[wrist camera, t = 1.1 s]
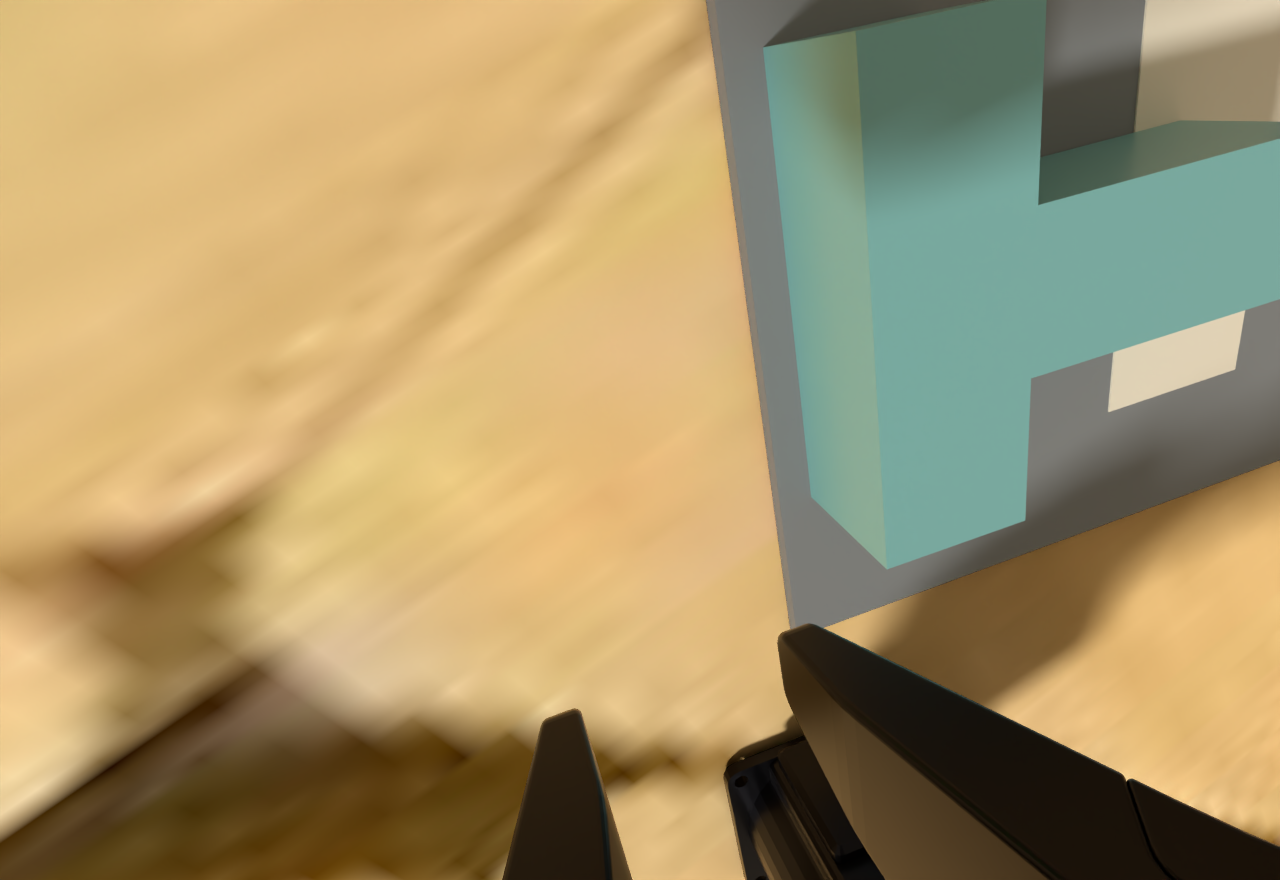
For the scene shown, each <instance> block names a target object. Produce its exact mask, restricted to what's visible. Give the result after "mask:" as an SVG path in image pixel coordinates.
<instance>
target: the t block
mask: <svg viewBox="0 0 1280 880" xmlns="http://www.w3.org/2000/svg"><path fill="white" fill-rule="evenodd" d="M1046 2H1047V0H985V1H980V2H975V3H970V4H964V5H959V6H954V7H949V8H943V9H938V10H933V11H928V12H922V13H917V14H913V15H908V16H904V17H899V18H895V19H890V20H886V21H881V22H876V23H872V24H867V25H863V26H858V27H854V28H849V29H845V30H840V31H836V32H831V33H827V34H822V35H817V36H813V37H808V38H804V39H799V40H795V41H790V42H786V43H781V44H777V45H772V46H767V47H763V53H764V62H765V71H766V81H767V90H768V99H769V109H770V118H771V127H772V137H773V146H774V155H775V165H776V174H777V183H778V193H779V202H780V211H781V221H782V230H783V239H784V249H785V258H786V267H787V276H788V286H789V295H790V304H791V314H792V323H793V332H794V342H795V351H796V360H797V370H798V379H799V388H800V398H801V407H802V416H803V426H804V435H805V444H806V454H807V463H808V472H809V481H810V491H811V497H812V498H813V499H814V500H815V501H816V502H817V503H818V504H819V505H820V506H821V507H822V508H823V509H824V510H825V511H826V512H827V513H828V514H829V515H830V516H832V517H833V518H834V519H835V520H836V521H837V522H838V523H839V524H840V525H841V526H842V527H843V528H844V529H845V530H846V531H847V532H848V533H849V534H850V535H851V536H852V537H853V538H854V539H856V540H857V541H858V542H859V543H860V544H861V545H862V546H863V547H864V548H865V549H866V550H867V551H868V552H869V553H870V554H871V555H872V556H873V557H874V558H875V559H876V560H877V561H879V562H880V563H881V564H882V565H883V566H884V567H885V568H886V569H890V568H893V567H896V566H898V565H901V564H904V563H907V562H910V561H912V560H915V559H918V558H921V557H924V556H927V555H929V554H932V553H935V552H938V551H941V550H943V549H946V548H949V547H952V546H955V545H958V544H960V543H963V542H966V541H969V540H972V539H974V538H977V537H980V536H983V535H986V534H989V533H991V532H994V531H997V530H1000V529H1003V528H1006V527H1008V526H1011V525H1014V524H1017V523H1020V522H1022V521H1025V515H1026V490H1027V466H1028V441H1029V417H1030V392H1031V378H1034V377H1037V376H1041V375H1044V374H1047V373H1050V372H1053V371H1056V370H1059V369H1062V368H1066V367H1069V366H1072V365H1075V364H1078V363H1081V362H1084V361H1088V360H1091V359H1094V358H1097V357H1100V356H1103V355H1106V354H1109V353H1113V352H1116V351H1119V350H1122V349H1125V348H1128V347H1131V346H1135V345H1138V344H1141V343H1144V342H1147V341H1150V340H1153V339H1156V338H1160V337H1163V336H1166V335H1169V334H1172V333H1175V332H1178V331H1182V330H1185V329H1188V328H1191V327H1194V326H1197V325H1200V324H1203V323H1207V322H1210V321H1213V320H1216V319H1219V318H1222V317H1225V316H1229V315H1232V314H1235V313H1238V312H1241V311H1244V310H1247V309H1250V308H1254V307H1257V306H1260V305H1263V304H1266V303H1269V302H1272V301H1276V300H1279V299H1280V122H1272V121H1194V120H1180V121H1176V122H1172V123H1169V124H1165V125H1161V126H1157V127H1153V128H1150V129H1146V130H1142V131H1138V132H1134V133H1131V134H1127V135H1123V136H1119V137H1115V138H1112V139H1108V140H1104V141H1100V142H1096V143H1093V144H1089V145H1085V146H1081V147H1077V148H1074V149H1070V150H1066V151H1062V152H1059V153H1055V154H1051V155H1047V156H1043V157H1040V148H1041V124H1042V99H1043V75H1044V51H1045V26H1046Z"/></svg>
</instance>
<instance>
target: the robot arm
mask: <svg viewBox="0 0 1280 880" xmlns="http://www.w3.org/2000/svg"><path fill="white" fill-rule="evenodd" d="M777 644H778V652H779V659H780V665H781V672H782V679H783V686H784V691H785V694H786V697H787V700H788V703H789V705H790V707H791V709H792V711H793V713H794V715H795V717H796V719H797V721H798V723H799V725H800V727H801V729H802V731H803V733H804V735H805V736H802V737H800V738H797V739H794V740H792V741H789V742H787V743H784V744H782V745H779V746H777V747H774V748H772V749H769V750H766V751H764V752H761V753H759V754H756V755H754V756H751V757H749V758H746V759H744V760H741V761H738V762H736V763H734V764H732V765H730V766H729V767H728V768H727V769H726V770H725V772H724V782H725V787H726V792H727V797H728V802H729V807H730V811H731V816H732V821H733V826H734V831H735V835H736V840H737V845H738V850H739V855H740V859H741V864H742V869H743V874H744V877H745V880H1280V846H1278V845H1275V844H1273V843H1270V842H1268V841H1266V840H1263V839H1261V838H1259V837H1256V836H1254V835H1251V834H1249V833H1247V832H1245V831H1242V830H1240V829H1238V828H1236V827H1234V826H1232V825H1229V824H1227V823H1225V822H1223V821H1221V820H1219V819H1217V818H1214V817H1212V816H1210V815H1208V814H1206V813H1204V812H1201V811H1199V810H1197V809H1195V808H1193V807H1191V806H1188V805H1186V804H1184V803H1182V802H1180V801H1178V800H1176V799H1174V798H1171V797H1169V796H1167V795H1165V794H1163V793H1161V792H1159V791H1157V790H1155V789H1153V788H1151V787H1149V786H1147V785H1145V784H1143V783H1141V782H1139V781H1137V780H1134V779H1129V780H1127V782H1126V779H1125V777H1124V776H1123V774H1121V773H1119V772H1117V771H1115V770H1113V769H1111V768H1109V767H1107V766H1105V765H1103V764H1101V763H1099V762H1097V761H1095V760H1093V759H1091V758H1089V757H1087V756H1085V755H1083V754H1081V753H1078V752H1076V751H1074V750H1072V749H1070V748H1068V747H1066V746H1064V745H1062V744H1060V743H1058V742H1056V741H1054V740H1052V739H1050V738H1048V737H1046V736H1044V735H1042V734H1039V733H1037V732H1035V731H1033V730H1031V729H1029V728H1027V727H1025V726H1023V725H1021V724H1019V723H1017V722H1015V721H1013V720H1011V719H1009V718H1007V717H1005V716H1003V715H1001V714H998V713H996V712H994V711H992V710H990V709H988V708H986V707H984V706H982V705H980V704H978V703H976V702H974V701H972V700H970V699H968V698H966V697H964V696H962V695H959V694H957V693H955V692H953V691H951V690H949V689H947V688H945V687H943V686H941V685H939V684H937V683H935V682H933V681H931V680H929V679H927V678H925V677H923V676H921V675H918V674H916V673H914V672H912V671H910V670H908V669H906V668H904V667H902V666H900V665H898V664H896V663H894V662H892V661H890V660H888V659H886V658H884V657H882V656H879V655H877V654H875V653H873V652H871V651H869V650H867V649H865V648H863V647H861V646H859V645H857V644H855V643H853V642H851V641H849V640H847V639H845V638H843V637H841V636H838V635H836V634H834V633H832V632H830V631H828V630H826V629H824V628H822V627H820V626H818V625H815V624H811V623H807V624H804V625H801V626H798V627H795V628H793V629H790V630H787V631H784V632H782V633H781V634H780V635H779V637H778V643H777ZM502 880H632V877H631V874H630V871H629V867H628V864H627V861H626V857H625V854H624V851H623V847H622V844H621V841H620V837H619V834H618V831H617V828H616V824H615V821H614V818H613V814H612V811H611V808H610V804H609V801H608V798H607V794H606V791H605V788H604V784H603V781H602V778H601V774H600V771H599V768H598V765H597V761H596V758H595V755H594V752H593V749H592V745H591V742H590V739H589V736H588V733H587V729H586V726H585V723H584V720H583V717H582V714H581V712H580V711H579V710H578V709H571V710H568V711H565V712H563V713H560V714H557V715H554V716H552V717H549V718H547V719H545V720H544V721H543V723H542V725H541V728H540V731H539V735H538V739H537V743H536V747H535V751H534V755H533V759H532V763H531V767H530V771H529V775H528V779H527V783H526V787H525V791H524V795H523V799H522V803H521V807H520V811H519V815H518V819H517V823H516V827H515V831H514V835H513V839H512V843H511V847H510V851H509V855H508V859H507V863H506V867H505V871H504V875H503V879H502Z"/></svg>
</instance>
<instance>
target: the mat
mask: <svg viewBox="0 0 1280 880" xmlns="http://www.w3.org/2000/svg"><path fill="white" fill-rule="evenodd" d="M980 1H985V0H706V3H707V11H708V18H709V26H710V33H711V41H712V48H713V55H714V63H715V70H716V78H717V85H718V93H719V100H720V108H721V115H722V123H723V130H724V138H725V145H726V153H727V160H728V168H729V175H730V182H731V190H732V197H733V205H734V212H735V220H736V227H737V235H738V242H739V250H740V257H741V265H742V272H743V280H744V287H745V295H746V302H747V309H748V317H749V324H750V332H751V339H752V347H753V354H754V362H755V369H756V377H757V384H758V392H759V399H760V407H761V414H762V421H763V429H764V436H765V444H766V451H767V459H768V466H769V474H770V481H771V489H772V496H773V504H774V511H775V519H776V526H777V534H778V541H779V548H780V556H781V563H782V571H783V578H784V586H785V593H786V601H787V608H788V616H789V623H790V629H793V628H795V627H798V626H801V625H804V624H807V623H811V624H815V625H818V626H820V627H822V628H824V627H827V626H830V625H832V624H835V623H838V622H841V621H843V620H846V619H849V618H851V617H854V616H857V615H860V614H862V613H865V612H868V611H871V610H873V609H876V608H879V607H881V606H884V605H887V604H890V603H892V602H895V601H898V600H900V599H903V598H906V597H909V596H911V595H914V594H917V593H920V592H922V591H925V590H928V589H930V588H933V587H936V586H939V585H941V584H944V583H947V582H949V581H952V580H955V579H958V578H960V577H963V576H966V575H969V574H971V573H974V572H977V571H979V570H982V569H985V568H988V567H990V566H993V565H996V564H998V563H1001V562H1004V561H1007V560H1009V559H1012V558H1015V557H1018V556H1020V555H1023V554H1026V553H1028V552H1031V551H1034V550H1037V549H1039V548H1042V547H1045V546H1047V545H1050V544H1053V543H1056V542H1058V541H1061V540H1064V539H1067V538H1069V537H1072V536H1075V535H1077V534H1080V533H1083V532H1086V531H1088V530H1091V529H1094V528H1096V527H1099V526H1102V525H1105V524H1107V523H1110V522H1113V521H1116V520H1118V519H1121V518H1124V517H1126V516H1129V515H1132V514H1135V513H1137V512H1140V511H1143V510H1145V509H1148V508H1151V507H1154V506H1156V505H1159V504H1162V503H1165V502H1167V501H1170V500H1173V499H1175V498H1178V497H1181V496H1184V495H1186V494H1189V493H1192V492H1194V491H1197V490H1200V489H1203V488H1205V487H1208V486H1211V485H1213V484H1216V483H1219V482H1222V481H1224V480H1227V479H1230V478H1233V477H1235V476H1238V475H1241V474H1243V473H1246V472H1249V471H1252V470H1254V469H1257V468H1260V467H1262V466H1265V465H1268V464H1271V463H1273V462H1276V461H1279V460H1280V299H1279V300H1276V301H1272V302H1269V303H1266V304H1263V305H1260V306H1257V307H1254V308H1250V309H1247V310H1244V311H1241V312H1238V313H1235V314H1232V315H1229V316H1225V317H1222V318H1219V319H1216V320H1213V321H1210V322H1207V323H1203V324H1200V325H1197V326H1194V327H1191V328H1188V329H1185V330H1182V331H1178V332H1175V333H1172V334H1169V335H1166V336H1163V337H1160V338H1156V339H1153V340H1150V341H1147V342H1144V343H1141V344H1138V345H1135V346H1131V347H1128V348H1125V349H1122V350H1119V351H1116V352H1113V353H1109V354H1106V355H1103V356H1100V357H1097V358H1094V359H1091V360H1088V361H1084V362H1081V363H1078V364H1075V365H1072V366H1069V367H1066V368H1062V369H1059V370H1056V371H1053V372H1050V373H1047V374H1044V375H1041V376H1037V377H1034V378H1031V392H1030V417H1029V441H1028V466H1027V490H1026V515H1025V521H1022V522H1020V523H1017V524H1014V525H1011V526H1008V527H1006V528H1003V529H1000V530H997V531H994V532H991V533H989V534H986V535H983V536H980V537H977V538H974V539H972V540H969V541H966V542H963V543H960V544H958V545H955V546H952V547H949V548H946V549H943V550H941V551H938V552H935V553H932V554H929V555H927V556H924V557H921V558H918V559H915V560H912V561H910V562H907V563H904V564H901V565H898V566H896V567H893V568H890V569H886V568H885V567H884V566H883V565H882V564H881V563H880V562H879V561H877V560H876V559H875V558H874V557H873V556H872V555H871V554H870V553H869V552H868V551H867V550H866V549H865V548H864V547H863V546H862V545H861V544H860V543H859V542H858V541H857V540H856V539H854V538H853V537H852V536H851V535H850V534H849V533H848V532H847V531H846V530H845V529H844V528H843V527H842V526H841V525H840V524H839V523H838V522H837V521H836V520H835V519H834V518H833V517H832V516H830V515H829V514H828V513H827V512H826V511H825V510H824V509H823V508H822V507H821V506H820V505H819V504H818V503H817V502H816V501H815V500H814V499H813V498H812V497H811V491H810V481H809V472H808V463H807V454H806V444H805V435H804V426H803V416H802V407H801V398H800V388H799V379H798V370H797V360H796V351H795V342H794V332H793V323H792V314H791V304H790V295H789V286H788V276H787V267H786V258H785V249H784V239H783V230H782V221H781V211H780V202H779V193H778V183H777V174H776V165H775V155H774V146H773V137H772V127H771V118H770V109H769V99H768V90H767V81H766V71H765V62H764V53H763V47H767V46H772V45H777V44H781V43H786V42H790V41H795V40H799V39H804V38H808V37H813V36H817V35H822V34H827V33H831V32H836V31H840V30H845V29H849V28H854V27H858V26H863V25H867V24H872V23H876V22H881V21H886V20H890V19H895V18H899V17H904V16H908V15H913V14H917V13H922V12H928V11H933V10H938V9H943V8H949V7H954V6H959V5H964V4H970V3H975V2H980ZM1180 120H1194V121H1272V122H1280V0H1047V2H1046V26H1045V51H1044V75H1043V99H1042V124H1041V148H1040V157H1043V156H1047V155H1051V154H1055V153H1059V152H1062V151H1066V150H1070V149H1074V148H1077V147H1081V146H1085V145H1089V144H1093V143H1096V142H1100V141H1104V140H1108V139H1112V138H1115V137H1119V136H1123V135H1127V134H1131V133H1134V132H1138V131H1142V130H1146V129H1150V128H1153V127H1157V126H1161V125H1165V124H1169V123H1172V122H1176V121H1180Z"/></svg>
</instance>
